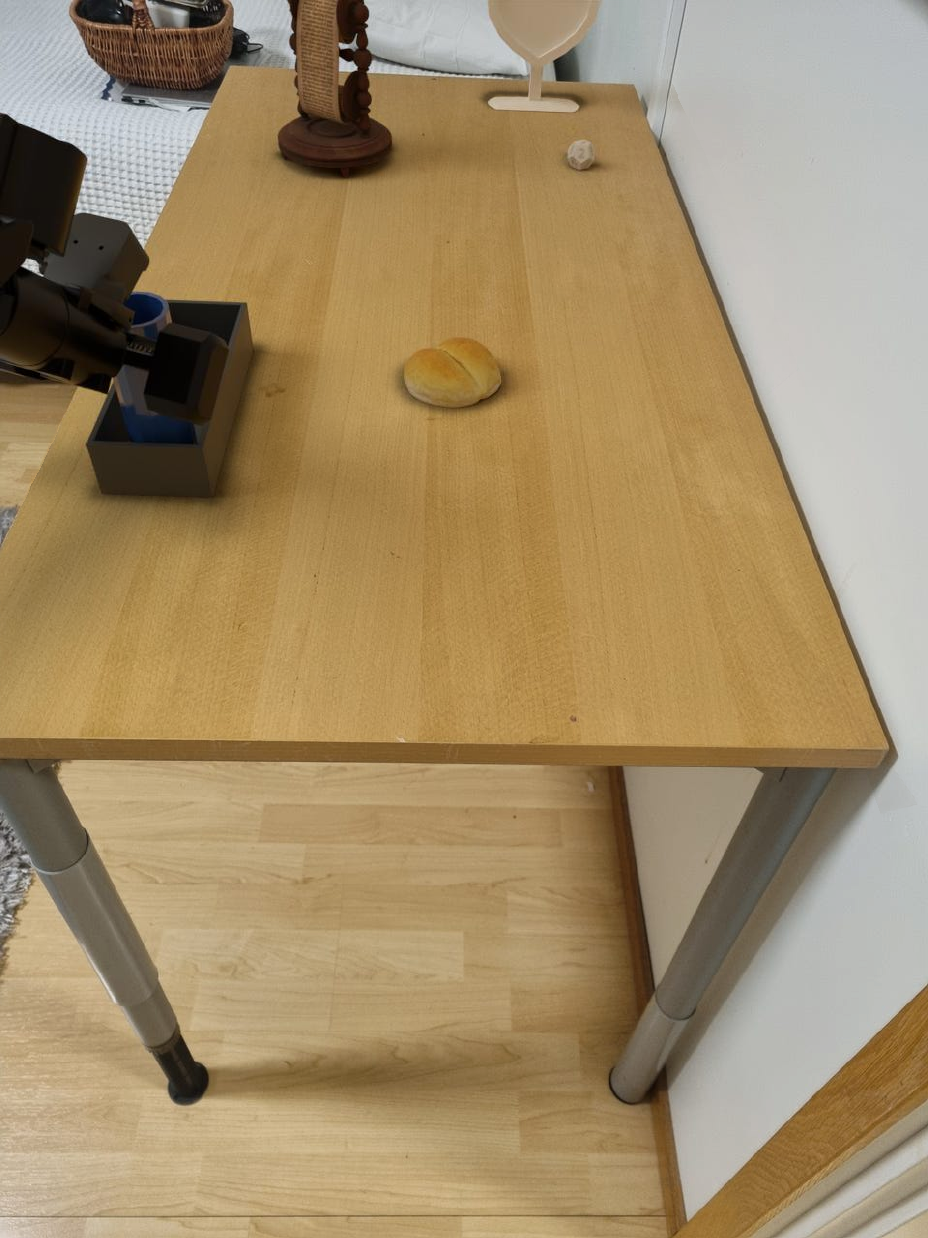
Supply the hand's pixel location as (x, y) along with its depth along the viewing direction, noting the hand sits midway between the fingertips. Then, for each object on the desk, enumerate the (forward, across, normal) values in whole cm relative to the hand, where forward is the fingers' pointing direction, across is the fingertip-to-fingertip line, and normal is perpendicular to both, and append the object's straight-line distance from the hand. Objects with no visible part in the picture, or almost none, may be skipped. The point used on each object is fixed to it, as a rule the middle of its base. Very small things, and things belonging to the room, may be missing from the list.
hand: (161, 379), depth 74 cm
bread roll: (+19, -18, -8) cm, 27 cm away
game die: (+58, -15, -46) cm, 75 cm away
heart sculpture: (+70, -3, -59) cm, 92 cm away
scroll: (+50, +15, -38) cm, 65 cm away
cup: (+4, 0, +6) cm, 7 cm away
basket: (+9, +2, +2) cm, 9 cm away
